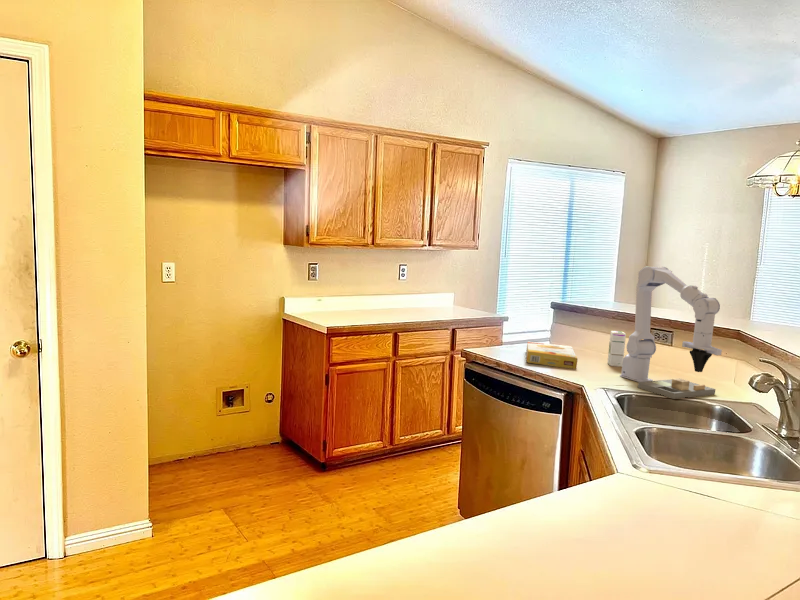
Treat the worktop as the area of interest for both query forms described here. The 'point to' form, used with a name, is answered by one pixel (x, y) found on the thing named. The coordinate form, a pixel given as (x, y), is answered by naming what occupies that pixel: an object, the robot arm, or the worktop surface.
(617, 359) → the syrup box
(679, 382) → the birch block
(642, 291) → the robot arm
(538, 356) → the cereal box
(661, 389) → the board
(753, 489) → the worktop surface
